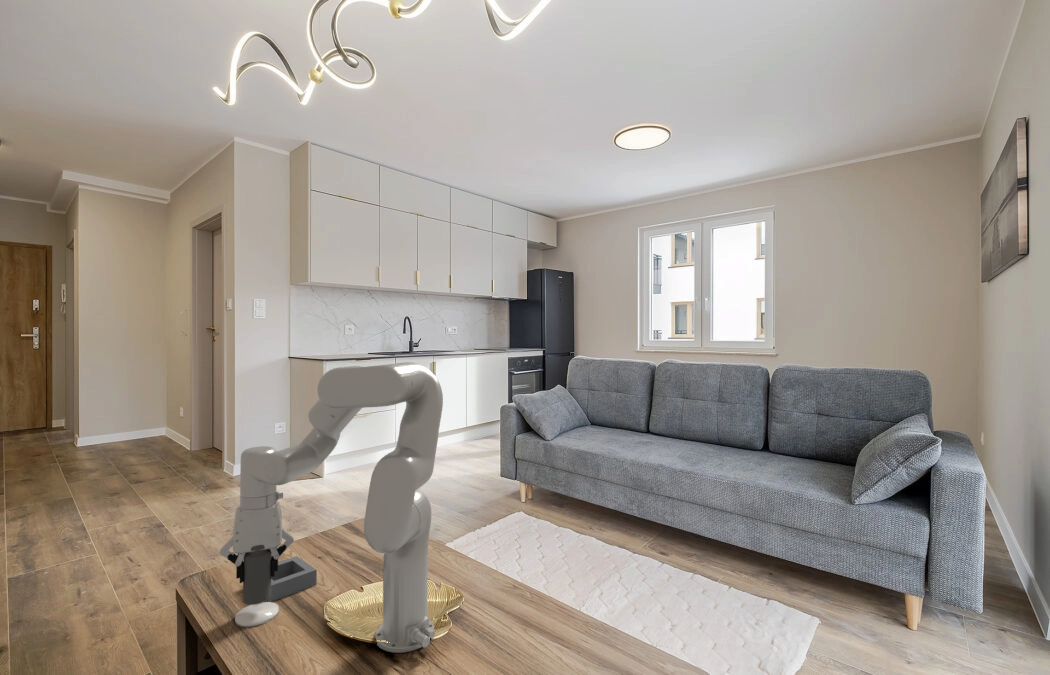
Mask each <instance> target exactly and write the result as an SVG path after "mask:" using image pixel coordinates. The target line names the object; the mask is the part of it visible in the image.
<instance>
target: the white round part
mask: <svg viewBox="0 0 1050 675" xmlns="http://www.w3.org/2000/svg"><path fill="white" fill-rule="evenodd" d="M279 609H280V607H279V605H278V604H277V603H275V602H273V601H272V602H267V601H264V602H262V603H258V604H252V605H246V606H245V607H243V608H241V609H240V610H239V611H238V612H236V614H235V615H234V622H235V623H234V624H235V625H237V626H239V627H241V628H243V627H244V628H250V627H251V628H252V627H257V626H260V625H264V624H266V623H269V622H270V621H272V620H274V619H275V618H276V617H277V616H278V614H279V611H280V610H279Z"/></svg>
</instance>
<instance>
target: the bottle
mask: <svg viewBox="0 0 1050 675" xmlns="http://www.w3.org/2000/svg"><path fill="white" fill-rule="evenodd" d="M264 548H265V546H264V545H258V546H253V547H252V548H251V551H253V552H248V553H245V555H244V558H243V564H244V570H243V582H242V602H243V603H244V604H245V605H248V606H250V605H252V604H258V603H262V602H267V601H266V600H268V599H269V598H270V597H271V559H272V553H271V550H270V549H266V550H261V549H264ZM255 550H257V551H255Z"/></svg>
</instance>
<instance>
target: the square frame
mask: <svg viewBox="0 0 1050 675" xmlns="http://www.w3.org/2000/svg"><path fill="white" fill-rule="evenodd" d="M317 571H318V570H317V569H316V568H315V567H314V566H312V565H311V564H309V563H308V562H307V561H305V560H303V559H302V558H301V557H299V556H298V555H296V556H293V557H289V558H286V559H283V560H280V561H278V571H275V577H271V597H270V598H269V599H268V600H266V601H265V602H267V601H268V602H272V603H273V602H274V601H278V600H280V599H283V598H285V597H289V596H291V595H293V594H296V593H299V592H302V591H304V590H306V589H309V588H312V587H314V586H317V582H318V581H317V577H318V576H317Z"/></svg>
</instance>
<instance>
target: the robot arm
mask: <svg viewBox="0 0 1050 675" xmlns="http://www.w3.org/2000/svg"><path fill="white" fill-rule="evenodd" d="M316 391H317V397H318V400H317V401H316V403H315V404H314V405H312V407H311V408H310V409H309V411H308V414H307V416H308V421H309V423H310V424H311V426H312V427H313V428H312V429H311V430H310V432H309V433H308V434H307V435H306V437H305V438H304V439H303V440H302V441H301V442H300V443H299V444H297V445H294V446H290V447H287V448H284V449H280V450H276V449H275V447H272V446H263V445H262V446H254V447H253V446H252V447H249V448H246V449H244V450H243V451H242V452H241V454H240V475H239V476H240V480H239V482H240V483H239V484H240V485H239V486H240V488H239V490H240V491H239V492H240V493H239V506H238V507H236V510H235V513H234V520H233V521H234V522H233V530H232V531H233V533H232V536H231V538H230V539H229V540H228V541H227V542H226V543H224V544H223V546H222V547H221V548H220V549H219V555H220V556H222V557H224V558H226V559H227V560H228V561H229V562H231V563H232V564H234V565H235V567H236V572H235V574H236V575H235V576H236V578H235V579H239V584H243V570H244V564H243V559H244V555H245V553H248V552H253V551H251V548H252V547H253V546H258V545H264V546H265V548H264V549H261V550H266V549H270V550H271V553H272V559H271V577H275V571H278V562H279V559H280V557H281V556H282V554H283V553H284V552H285V551H286V550H287V549H288V548H289V547H290V546H291V545H292V544H293V543H294V541H295V540H294V537H293V535H291V534H290V533H288V532H287V531H286V530H284V528H283V521H282V509H281V504H280V502H279V500H281V499H284V492H279V491H277V486H282V485H287V484H289V483H291V482H292V481H295V480H297V479H300V478H303V477H304V476H307V475H309V474H311V473H312V472H314V471H315V470H317V469H318V468H319V467H320V466H321V465H322V464H323V463H324V462H325V461H326V459H327V458H328V457H329V456H330V454H332V452H333V451H334V449H336V446H337V445H338V442H339V440H340V438H341V432H343V430H344V429H345V428H346V427H347V426H348V425H349V423H350V422H351V421H352V420H353V419H354V418H355V416H357V414H359V412H360V411H361V410H362V409H363V408H365V409H367V408H380V407H381V408H383V407H389V406H395V405H398V404H401V403H406V404H405V409H404V412H403V415H402V417H401V421H400V423H399V424H400V425H399V431H398V437H397V442H396V446H395V448H394V450H393V451H391V452H389V453H387V454H385V455H383V457H381V458H380V459H379V461H378V462H377V463H376V464H375V466H374V469H373V470H372V474H371V478H370V482H369V488H368V494H367V502H366V508H365V514H364V522H363V531H364V532H363V533H364V537H365V540H366V542H367V544H368V545H369V547H370V548H371V549H372V550H373V551H375V552H377V553H379V554H383V563H382V564H383V566H382V567H383V570H382V572H383V573H382V577H383V578H382V623H381V624H380V626H378V628H377V629H376V631H375V634H374V635H375V636H374V638H376V640H380V641H381V640H386V641H388V643H385V642H378V643H377V644H376V645H377V646H378V648H380V649H382V650H383V651H386V652H390V653H398V654H399V653H402V654H403V653H409V652H412V651H416V650H418V649H420V648H425V649H426V648H427V647H428V646H429V644H430V641H431V640H430V639H429V638H432V639H433V638H434V637H435V635H436V633H435V625H434V622H433V621H432V619H430V618H429V616H428V576H429V575H428V574H429V572H428V569H429V568H428V566H429V540H430V531H431V523H432V506H431V503H430V502H431V501H430V500H429V499H428V496H426V495H425V494H424V492H422V491H420V490H419V489H420V488H422V487H423V486H424V485H425V484H427V482H429V480H431V477H432V476H433V473H434V470H435V469H434V468H435V461H436V453H437V446H438V440H439V432H440V426H441V418H442V414H443V406H444V397H443V396H444V395H443V390H442V386H441V383H440V382H439V380H438V378H437V376H436V375H435V374H434V373H433V372H432V371H431V370H430V369H429V368H427V367H426V366H424V365H422V364H420V363H417V362H410V361H409V362H405V361H404V362H397V363H389V364H381V365H380V364H379V365H370V366H369V365H368V366H360V365H353V366H352V365H351V366H343V367H335V368H332V369H331V368H330V369H329V370H327V372H325V373H324V374H323V375H322V376H321V378H320V380H319V382H318V384H317V390H316ZM283 540H284V542H283V543H282V541H283ZM231 548H232V550H233V552H232V551H231V550H230V549H231ZM255 551H257V550H255ZM389 642H390V643H389Z"/></svg>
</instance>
